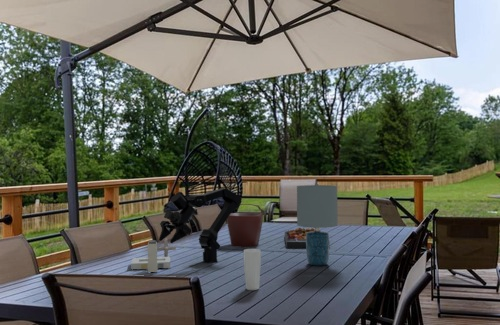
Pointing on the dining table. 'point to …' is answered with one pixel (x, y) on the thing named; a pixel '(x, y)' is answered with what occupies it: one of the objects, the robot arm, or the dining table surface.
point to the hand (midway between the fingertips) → (165, 241)
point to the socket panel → (143, 263)
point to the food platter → (296, 238)
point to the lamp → (317, 219)
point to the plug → (152, 256)
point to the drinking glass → (252, 268)
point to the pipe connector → (166, 248)
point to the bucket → (245, 228)
